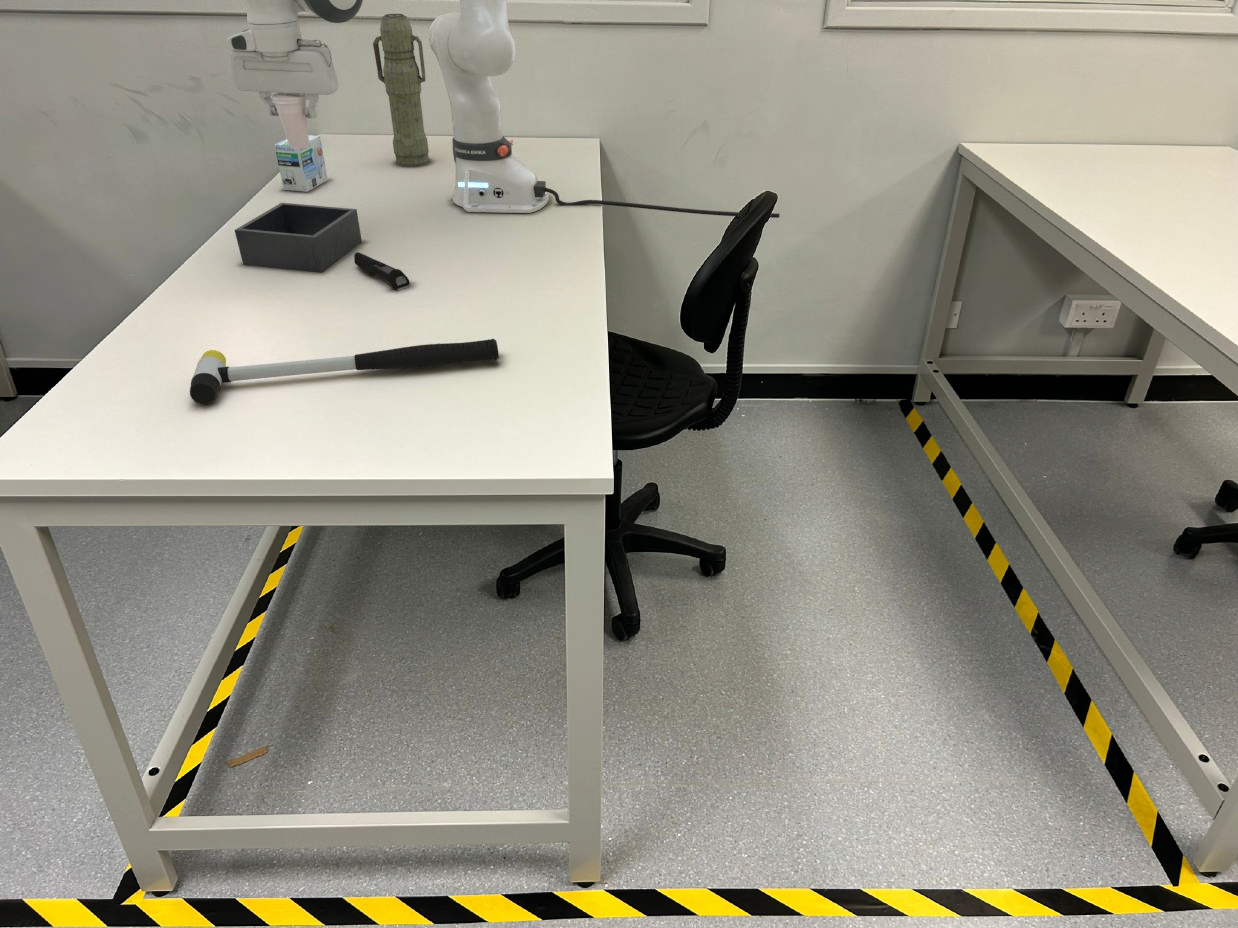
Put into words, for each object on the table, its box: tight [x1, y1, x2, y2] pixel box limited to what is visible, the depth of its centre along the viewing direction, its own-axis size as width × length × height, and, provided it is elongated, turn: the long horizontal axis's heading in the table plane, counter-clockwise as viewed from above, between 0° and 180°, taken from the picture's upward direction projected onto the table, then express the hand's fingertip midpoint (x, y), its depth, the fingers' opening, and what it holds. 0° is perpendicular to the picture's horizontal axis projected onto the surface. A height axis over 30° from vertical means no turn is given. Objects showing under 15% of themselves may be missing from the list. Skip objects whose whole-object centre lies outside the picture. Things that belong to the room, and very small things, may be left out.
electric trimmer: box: [353, 251, 411, 291], centre depth 163 cm, size 4×16×3 cm, turn 45°
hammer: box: [189, 338, 500, 405], centre depth 132 cm, size 45×11×4 cm, turn 103°
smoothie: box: [271, 92, 310, 149], centre depth 166 cm, size 6×6×14 cm
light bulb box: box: [273, 134, 329, 193], centre depth 208 cm, size 11×7×11 cm, turn 168°
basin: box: [234, 202, 363, 274], centre depth 172 cm, size 17×17×7 cm
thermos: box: [372, 13, 430, 168], centre depth 218 cm, size 9×12×35 cm
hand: (293, 116), depth 167 cm, fingers closed on smoothie, 6 cm apart
